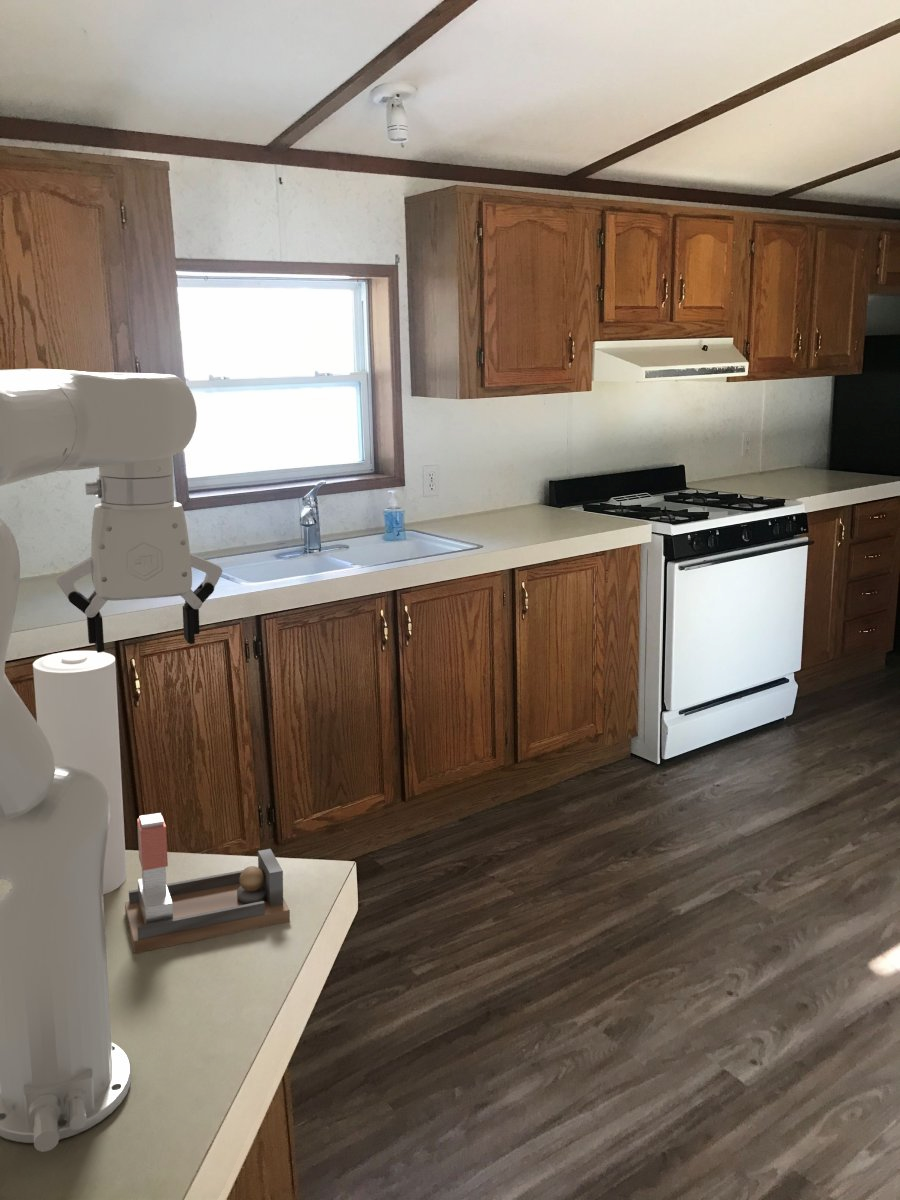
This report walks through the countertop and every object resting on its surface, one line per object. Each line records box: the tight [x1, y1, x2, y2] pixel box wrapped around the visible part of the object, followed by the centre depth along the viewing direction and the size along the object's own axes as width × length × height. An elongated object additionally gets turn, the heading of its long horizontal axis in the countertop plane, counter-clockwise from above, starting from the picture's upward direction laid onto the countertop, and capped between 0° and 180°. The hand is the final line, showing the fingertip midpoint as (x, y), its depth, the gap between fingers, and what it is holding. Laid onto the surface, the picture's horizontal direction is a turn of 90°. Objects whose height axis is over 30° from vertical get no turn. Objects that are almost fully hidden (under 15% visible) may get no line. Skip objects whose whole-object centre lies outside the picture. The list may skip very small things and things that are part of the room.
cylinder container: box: [32, 650, 127, 896], centre depth 122 cm, size 9×9×30 cm
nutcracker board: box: [124, 848, 291, 954], centre depth 117 cm, size 9×18×6 cm, turn 114°
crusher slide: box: [136, 812, 173, 924], centre depth 113 cm, size 7×3×12 cm, turn 24°
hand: (145, 644), depth 108 cm, fingers open, 9 cm apart
